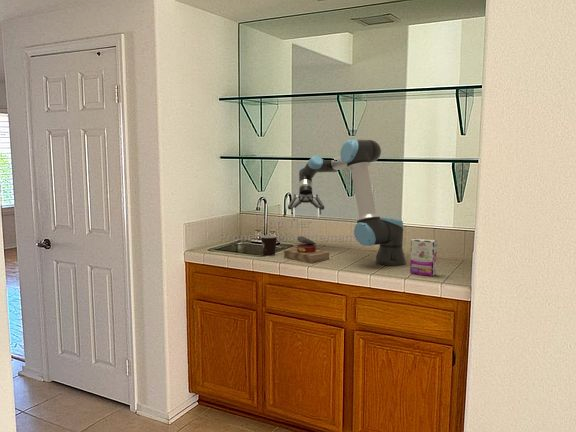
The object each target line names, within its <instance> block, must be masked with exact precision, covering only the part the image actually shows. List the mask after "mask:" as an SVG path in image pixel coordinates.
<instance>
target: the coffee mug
mask: <svg viewBox="0 0 576 432" xmlns="http://www.w3.org/2000/svg"><path fill="white" fill-rule="evenodd" d="M260 238H261V245H262V254H263V256H265V257H266V256H271V257H272V256H275V254H276V247H277V240H278V236H277V235H271V234H270V235H261V237H260Z"/></svg>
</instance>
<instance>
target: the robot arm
mask: <svg viewBox="0 0 576 432" xmlns="http://www.w3.org/2000/svg"><path fill="white" fill-rule="evenodd" d="M381 148H382V147H381V146H380V144H379V143H378V141H376V140H373V139H356V138H355V139H348V140H346V141H345V142H343V144H342V145H341V147H340V151H339V152H340V153H339V155H338V156H335V157H333V158H331V159H334V160H337V161H334V160H324V159H325V158H324V159H323V158H321V157H320V156H318V155H312V156H311V157H310V159H309V160H308V161H307V163H306V164H305V165H303V166H301V167H299V169H298V170H299V171H298V182H299V184H298V189H299V190H298V195H297V194H296V193H294V194H293V197H292V199H291V201H290V202H289V203H288V205H287V210H290V214H291V215H292V218H293V219H292V220H293V221H294V220H295V218H296V216H295V213H296V212H295V209H297V207H298V206H300V204H302V203H303V204H305V203H306V204H311V205H312V206H314V207H315V208H316V209H317V221H320V215H322V210H324V209H325V205H324V203H323V202H322V200H321V199H320V198H319V195H318V193H317V194H315V195H313V178H314V177H315V175H316V174H317V173H338V172H339V171H338V170H340V169H341V170H343V169H348V170H349V171H350V172H351V178H352V185H353V190H354V194H355V201H356V206H357V211H358V218H357V219H356V224H355V226H354V228H353V235H354V238H355V240H356V241H357V243H359V244H360V245H362V246H365V247H366V246H369V247H371V246H376V245H379V247H378V250H377V253H376V256H375V263H377V264H379V265H382V266H383V265H384V266H402V265H405V264H406V260H407V259H406V256H405V252H404V249H403V246H404V245H403V244H404V243H403V241H404V238H403V237H404V222H403V220H402V219H398V218H392V217H384V216H382V217H381V216H380V215H379V214H377V211H376V210H377V209H376V204H375V199H374V194H373V190H372V189H373V188H372V184H371V178H370V173H369V166H370V165H371V163H374V162H377V161H378V160H379V158H380V157H381V154H382V149H381ZM341 170H340V171H341ZM296 200H297V201H296Z"/></svg>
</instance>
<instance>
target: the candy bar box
mask: <svg viewBox="0 0 576 432" xmlns="http://www.w3.org/2000/svg"><path fill="white" fill-rule="evenodd" d="M437 249H438V240H437V239H426V238H424V239H423V238H412V239H410V262H409V266H410V267H409V273H410V274H411V273H412V275H418V274H419V275H420V276H426V277H434V276H436V275H437V257H438V256H437V255H438V253H437V252H438V250H437ZM419 275H418V276H419Z"/></svg>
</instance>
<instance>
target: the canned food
mask: <svg viewBox="0 0 576 432" xmlns="http://www.w3.org/2000/svg"><path fill="white" fill-rule="evenodd" d="M297 241H298V242H299V243H300V244H297V247H296V248H297V251H298V252H301V253H313V252H316V250H317V248H316V247H317V246H316V242H314V241H313V240H311V239H309V238H307V237H305V236H301V235H300V236H298V237H297Z"/></svg>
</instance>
